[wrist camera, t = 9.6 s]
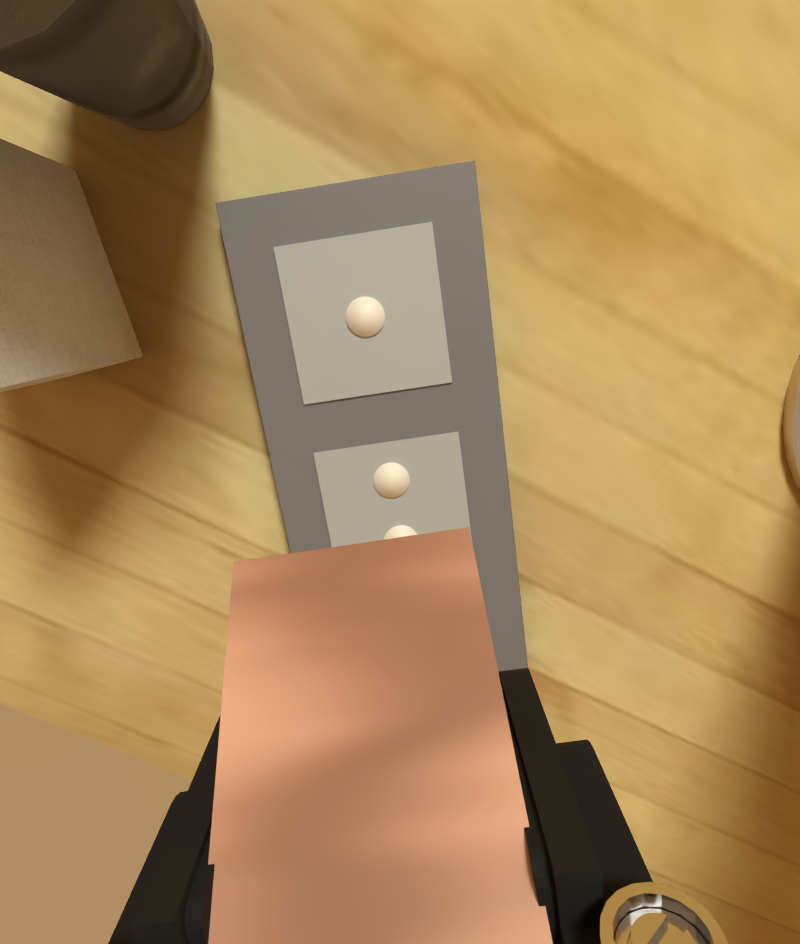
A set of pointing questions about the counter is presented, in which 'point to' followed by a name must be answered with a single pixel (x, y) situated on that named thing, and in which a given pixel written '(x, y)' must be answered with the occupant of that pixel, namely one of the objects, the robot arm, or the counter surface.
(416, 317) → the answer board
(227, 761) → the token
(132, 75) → the beverage cup
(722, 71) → the counter surface
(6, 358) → the gable top carton
